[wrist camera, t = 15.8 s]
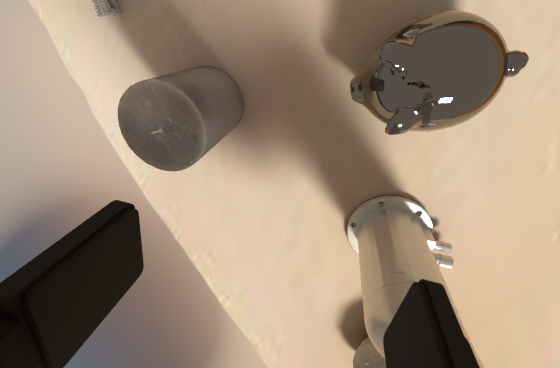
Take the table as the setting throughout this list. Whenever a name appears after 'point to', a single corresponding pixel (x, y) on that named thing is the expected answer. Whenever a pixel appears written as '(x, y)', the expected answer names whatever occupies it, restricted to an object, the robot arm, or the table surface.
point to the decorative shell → (368, 356)
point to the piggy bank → (435, 72)
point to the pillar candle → (179, 116)
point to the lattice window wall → (107, 7)
